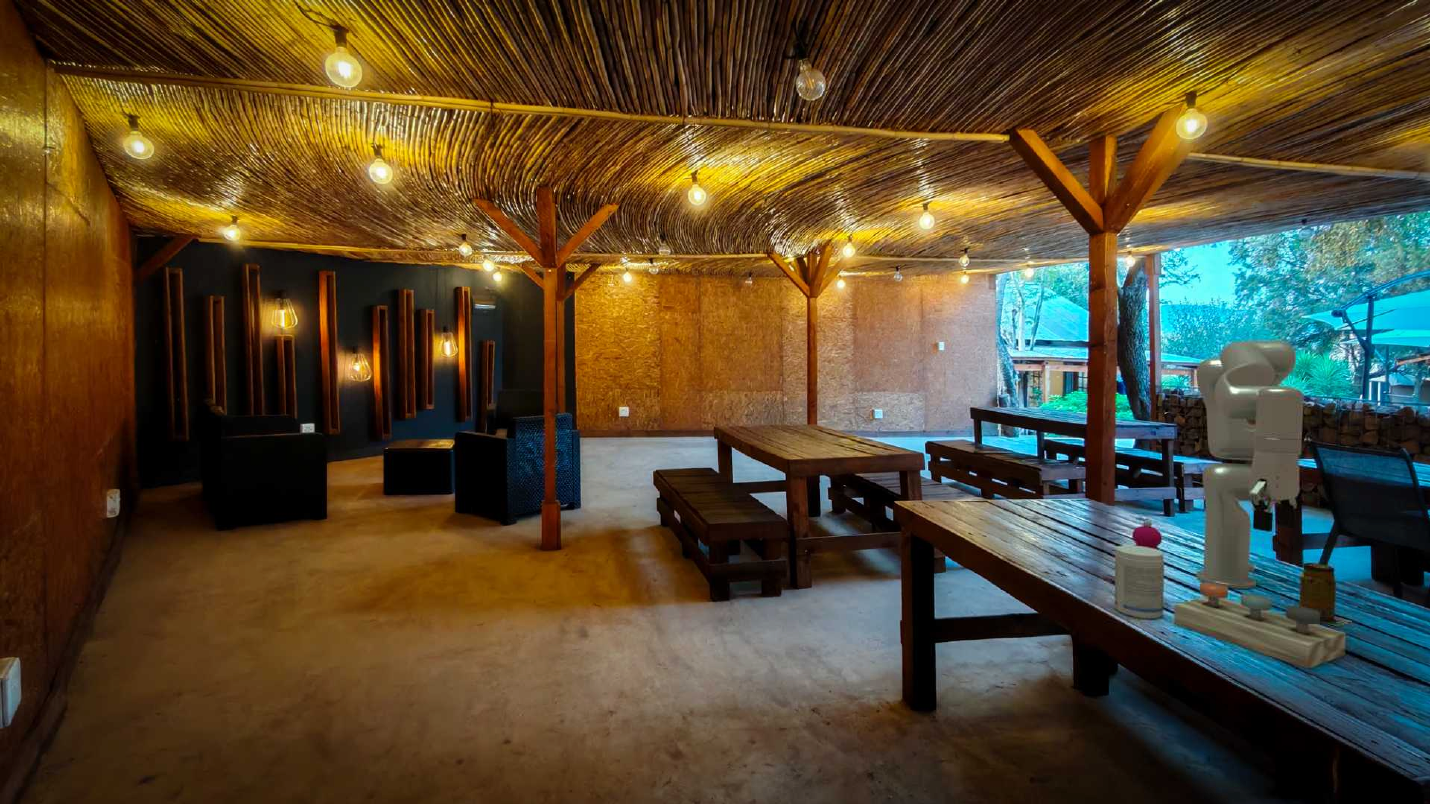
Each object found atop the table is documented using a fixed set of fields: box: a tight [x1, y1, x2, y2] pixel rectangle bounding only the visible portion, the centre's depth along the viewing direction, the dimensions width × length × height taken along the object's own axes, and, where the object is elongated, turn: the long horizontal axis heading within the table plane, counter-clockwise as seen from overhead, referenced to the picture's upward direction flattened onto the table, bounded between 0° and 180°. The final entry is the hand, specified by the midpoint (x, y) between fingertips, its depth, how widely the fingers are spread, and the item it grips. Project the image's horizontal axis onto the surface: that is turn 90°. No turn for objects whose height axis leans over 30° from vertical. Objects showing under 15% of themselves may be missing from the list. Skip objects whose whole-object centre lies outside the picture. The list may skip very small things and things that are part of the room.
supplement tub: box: [1114, 545, 1165, 619], centre depth 153 cm, size 10×10×15 cm
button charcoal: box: [1285, 605, 1321, 636], centre depth 131 cm, size 5×5×5 cm
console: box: [1173, 596, 1347, 670], centre depth 138 cm, size 14×24×4 cm, turn 25°
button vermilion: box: [1199, 582, 1229, 609], centre depth 145 cm, size 5×5×5 cm
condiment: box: [1298, 562, 1353, 627], centre depth 149 cm, size 7×8×12 cm
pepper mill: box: [1132, 519, 1163, 551], centre depth 160 cm, size 7×7×20 cm
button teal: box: [1240, 593, 1273, 621], centre depth 138 cm, size 5×5×5 cm
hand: (1273, 527), depth 140 cm, fingers open, 8 cm apart
